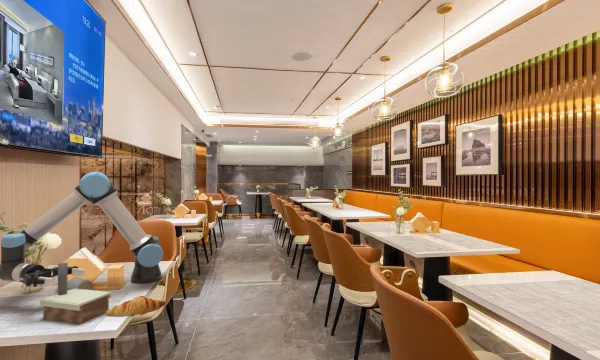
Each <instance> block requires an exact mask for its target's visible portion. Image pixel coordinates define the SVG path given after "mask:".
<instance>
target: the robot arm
mask: <svg viewBox="0 0 600 360" xmlns="http://www.w3.org/2000/svg"><path fill="white" fill-rule="evenodd" d="M117 194H118V190H117V189H116V187H115V186H114V184H113V183H112V182H111V180H110V179H109V178H108V176H107V175H106V174H104V173H102V172H99V171H91V172H88V173H86V174H85V175H83V176H82V177H81V178H80V180H79V183H78V185H77V186H75V187H74V188H73V191H72V192H71V193H70V194H69V195H67V196H66V197H65V198H64V199H62V200H61V201H59V202H58V203H57V204H56V205H54V206H53V207H52V208H51V209H49V210H47V212H45V213H44V214H42V215H41V216H40V217H38V218H37V219H36V220H35V221H33V222H32V223H31V224H29V225H28V226H27V227H25V228H23V230H21V231H20V232H18V233H8V234H4V235H2V236H1V240H0V241H1V242H0V280H2V281H5V282H16V283H18V282H19V283H23V284H24V285H25V287H31V285H32V287H33V288H36V287H38V285H40V286H45V287H46V286H47V287H52V286H54V278H55V277H56V276H57V277H58V266H54V267H51V268H47V267H46V268H45V266H43V265H42V264H37V263H31V262H30V263H27V262H26V251H27V250H28V249H30V248H31V247H32V246H33V245H35V244H36V243H37V242H38V241H39V240H41V239H42V238H43V237H44V236H46V235H47V234H48V233H50V232H51V231H52V230H53V229H55V228H56V227H57V226H58V225H60V224H61V223H62V222H63V221H65V220H66V219H67V218H69V217H70V216H71V215H73V214H74V213H75V212H76V211H78V210H79V209H81V207H83V206H84V205H86V204H87V203H92V206H98V207H99V208H100V209H101V210H102V212H103V213H104V214H105V216H106V217H107V218H108V219H109V220H110V221H111V223H112V224H113V225H114V226H115V228H116V229H117V230H118V231H119V233H120V234H121V235H122V236H123V238H124V239H125V240H126V241H127V243H128V244H129V251H130V252H131V253H132V254H133V256H134V267H133V270H132V272H131V276H130V283H134V284H149V283H153V282H156V281H159V280H161V279H162V278H163V277H162V276H163V275H162V271H161V268H160V266H159V263H160V262H162V260H163V257H164V250H163V248H162V247H161V245H159V242H160V241H159V240H160V239H159V237H158V236H153V235H152V234H147V233H146V232H145V231H144V229H143V228H142V226H141V225H140V224H139V223H138V221H137V220H136V219H135V217H134V216H133V215H132V213H131V212H130V211H129V210H128V209H127V207H126V206H125V204H124V203H123V202H122V201H121V199H120V198H119V197H118V195H117ZM30 246H31V247H30ZM29 247H30V248H29ZM86 271H87V270H86V268H79V266H76V265H74V266H68V267H67V276H68V275H71V276H75V277H76V276H77V277H78V276H79V277H86Z"/></svg>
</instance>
